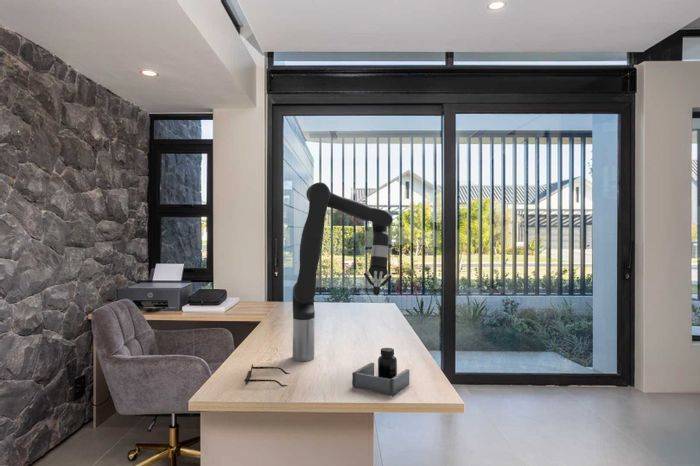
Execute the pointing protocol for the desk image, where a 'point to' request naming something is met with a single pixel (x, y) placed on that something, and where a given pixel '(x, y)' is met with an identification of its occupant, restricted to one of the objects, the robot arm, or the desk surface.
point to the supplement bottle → (387, 364)
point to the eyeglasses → (260, 379)
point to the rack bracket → (379, 381)
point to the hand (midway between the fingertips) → (375, 295)
